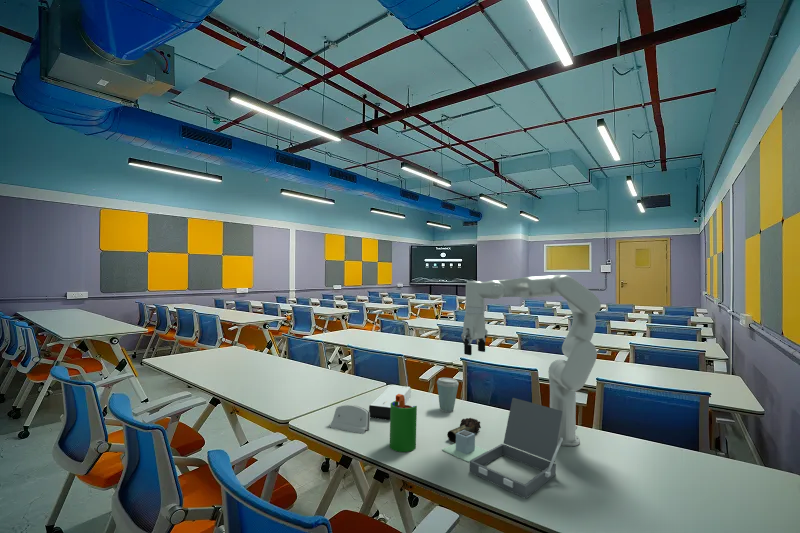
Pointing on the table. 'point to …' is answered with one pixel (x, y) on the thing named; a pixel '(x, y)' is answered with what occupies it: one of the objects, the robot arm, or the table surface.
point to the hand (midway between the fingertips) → (474, 353)
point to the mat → (465, 457)
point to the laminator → (387, 401)
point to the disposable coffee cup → (447, 393)
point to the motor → (402, 425)
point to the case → (520, 456)
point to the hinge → (351, 419)
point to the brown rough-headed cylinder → (464, 428)
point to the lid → (533, 428)
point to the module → (465, 442)
